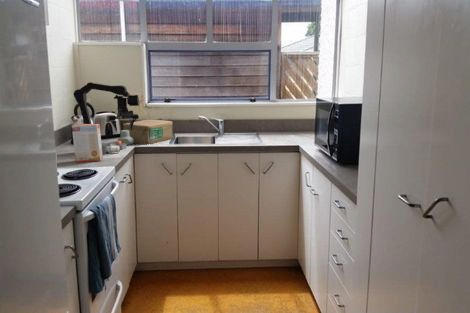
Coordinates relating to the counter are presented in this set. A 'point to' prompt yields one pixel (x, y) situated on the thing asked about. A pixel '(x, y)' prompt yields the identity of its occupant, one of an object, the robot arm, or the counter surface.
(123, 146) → the button collar
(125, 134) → the air freshener
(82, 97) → the robot arm
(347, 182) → the counter surface
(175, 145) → the counter surface
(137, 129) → the paper package
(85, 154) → the cracker box
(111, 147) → the cartridge
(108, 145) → the housing
